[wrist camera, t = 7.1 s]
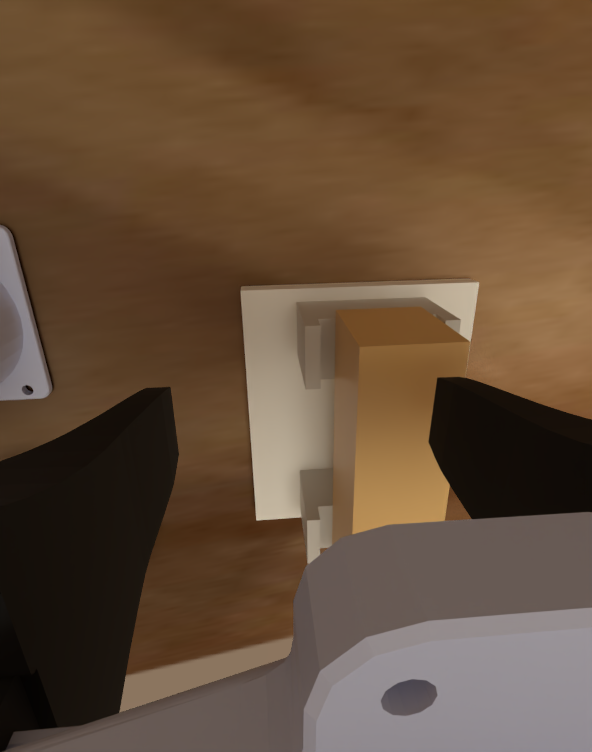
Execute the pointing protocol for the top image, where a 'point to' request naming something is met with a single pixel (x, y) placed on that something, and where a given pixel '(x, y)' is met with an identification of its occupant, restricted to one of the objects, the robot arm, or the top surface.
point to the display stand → (315, 384)
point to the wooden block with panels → (389, 416)
